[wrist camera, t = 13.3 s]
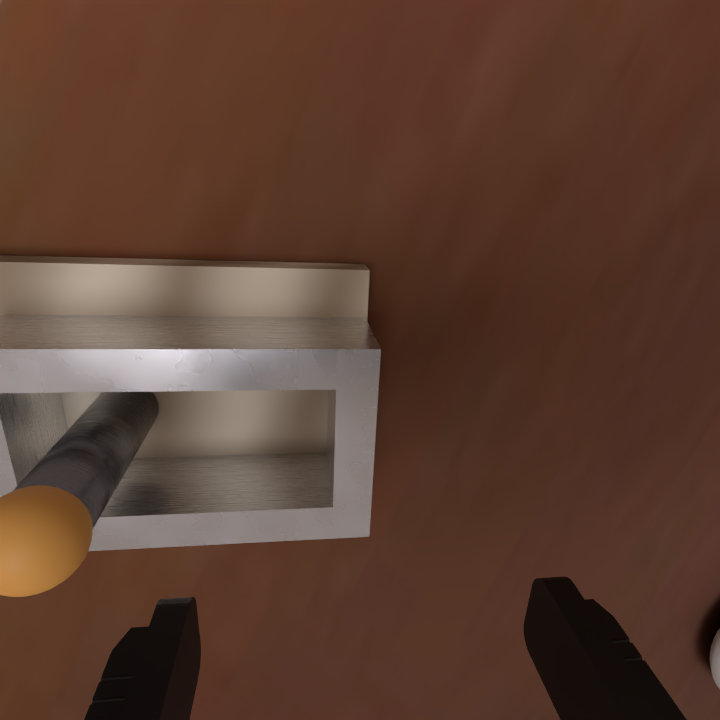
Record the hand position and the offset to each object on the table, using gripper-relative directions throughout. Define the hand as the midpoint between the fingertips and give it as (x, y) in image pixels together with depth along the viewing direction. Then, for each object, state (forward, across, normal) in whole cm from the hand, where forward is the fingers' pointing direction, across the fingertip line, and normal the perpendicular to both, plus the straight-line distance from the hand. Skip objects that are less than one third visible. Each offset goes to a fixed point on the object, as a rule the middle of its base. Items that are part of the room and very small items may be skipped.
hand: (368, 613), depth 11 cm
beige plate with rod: (+12, +7, 0) cm, 14 cm away
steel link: (+11, +6, 0) cm, 12 cm away
